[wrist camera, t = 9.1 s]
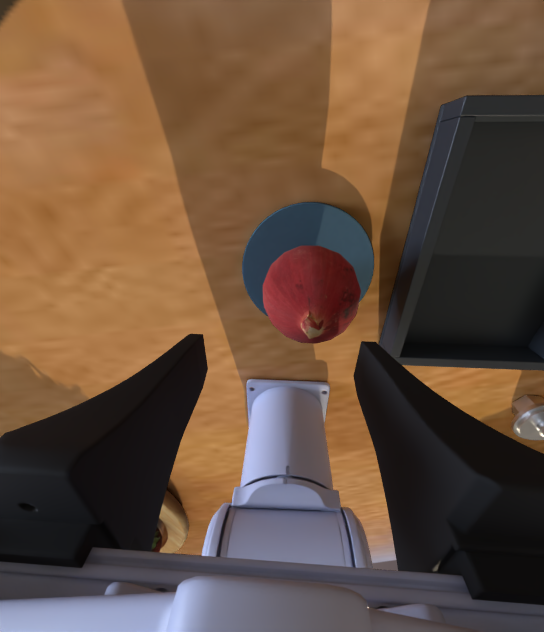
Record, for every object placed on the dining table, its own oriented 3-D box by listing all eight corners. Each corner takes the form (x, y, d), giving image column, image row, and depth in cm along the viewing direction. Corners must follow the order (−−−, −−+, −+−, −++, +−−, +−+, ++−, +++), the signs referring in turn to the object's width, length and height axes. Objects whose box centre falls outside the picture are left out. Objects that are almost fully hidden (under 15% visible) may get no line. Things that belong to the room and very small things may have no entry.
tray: (528, 352, 22) (553, 371, 20) (378, 346, 23) (387, 364, 21) (684, 103, 14) (753, 93, 12) (440, 105, 14) (466, 95, 12)
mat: (359, 326, 22) (361, 329, 21) (246, 323, 22) (245, 326, 22) (385, 202, 17) (388, 203, 17) (239, 201, 17) (238, 201, 17)
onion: (352, 232, 18) (393, 277, 11) (341, 307, 20) (368, 381, 14) (266, 232, 18) (253, 275, 11) (267, 306, 21) (257, 377, 14)
